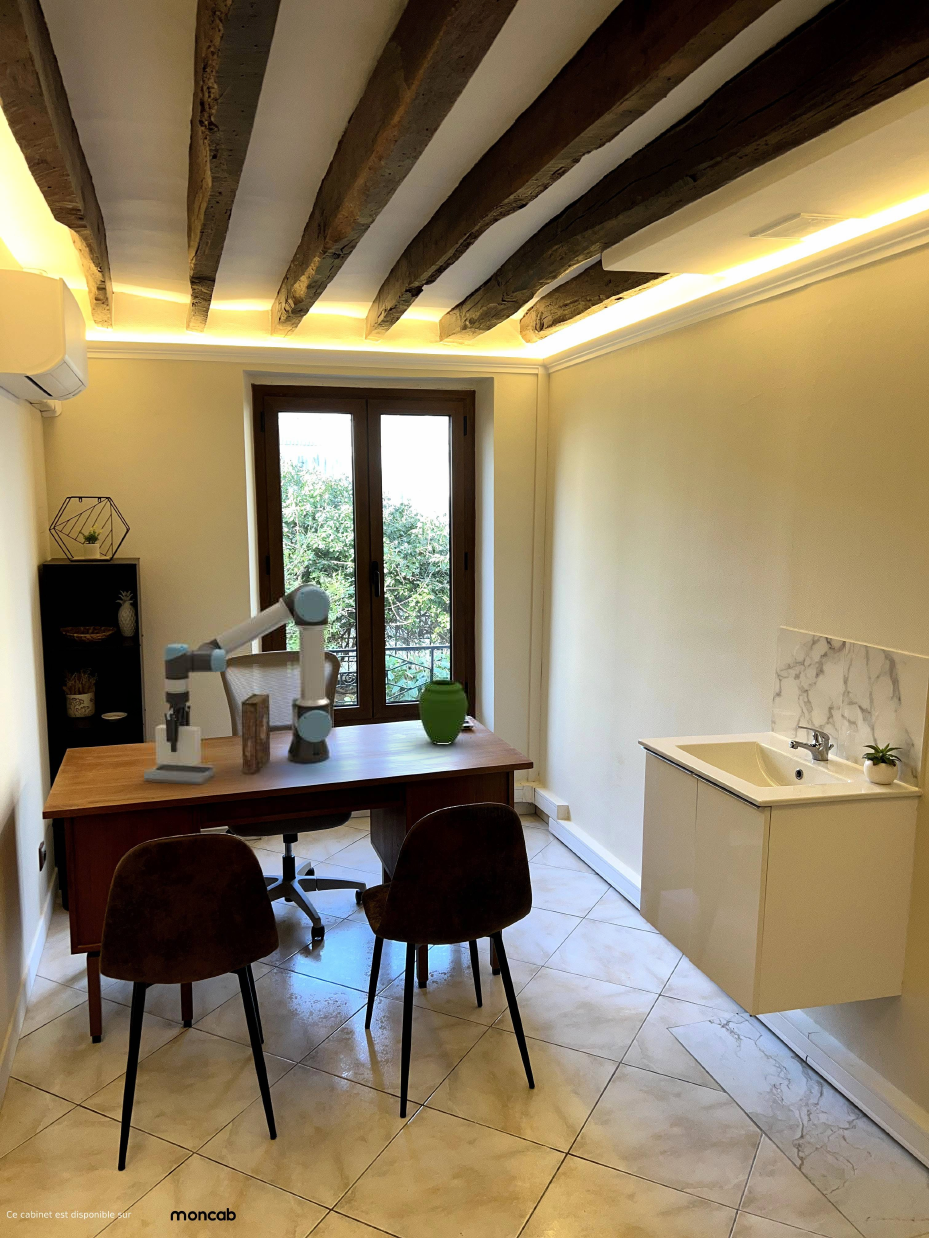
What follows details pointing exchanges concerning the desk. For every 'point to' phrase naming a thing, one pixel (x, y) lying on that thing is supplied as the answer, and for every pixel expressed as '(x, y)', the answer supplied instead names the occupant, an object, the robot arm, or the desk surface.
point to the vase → (443, 710)
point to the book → (255, 733)
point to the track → (179, 773)
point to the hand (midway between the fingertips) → (178, 758)
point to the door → (187, 745)
